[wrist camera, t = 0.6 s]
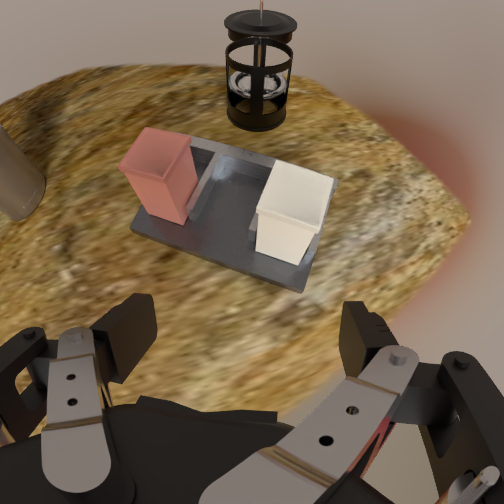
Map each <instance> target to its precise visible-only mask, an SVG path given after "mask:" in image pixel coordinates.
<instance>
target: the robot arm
mask: <svg viewBox="0 0 504 504" xmlns="http://www.w3.org/2000/svg"><path fill="white" fill-rule="evenodd" d="M44 191H45V178H44V177H43V175H42V174H41V173H40V172H39V171H38V169H37V168H36V167H35V166H34V165H33V164H32V162H31V161H30V160H29V159H28V158H27V156H26V155H25V154H24V153H23V152H22V150H21V149H20V148H19V147H18V146H17V144H16V143H15V142H14V141H13V139H12V138H11V137H10V136H9V134H8V133H7V132H6V131H5V129H4V128H3V127H2V125H1V124H0V210H1V211H2V212H3V213H5V214H6V215H7V216H8V217H10V218H11V219H12V220H16V221H18V220H22V219H24V218H26V217H27V216H29V215H30V214H31V213H32V212H33V211H34V210H35V208H36V207H37V206H38V204H39V203H40V201H41V199H42V197H43V194H44ZM156 337H157V322H156V316H155V309H154V302H153V298H152V296H151V295H150V294H140V293H134V294H132V295H131V296H130V297H129V298H127V299H126V300H125V301H124V302H123V303H121V304H119V305H117V306H115V307H113V308H112V309H111V310H110V311H108V313H106V314H105V315H104V316H103V317H101V318H100V319H99V320H98V321H96V322H95V323H94V324H93V325H92V326H90V327H89V328H86V327H75V328H71V329H68V330H66V331H65V332H63V333H62V334H61V335H60V336H59V340H47V338H46V335H45V331H44V329H43V328H40V327H30V328H26V329H24V330H22V331H20V332H19V333H17V334H16V335H15V336H14V337H12V338H11V339H10V340H8V341H7V342H6V343H4V344H3V345H2V346H1V347H0V504H394V503H393V502H392V501H390V500H389V499H388V498H386V497H385V496H384V495H382V494H381V493H380V492H378V491H377V490H376V489H374V488H373V487H372V486H371V485H369V484H368V483H367V482H365V481H364V480H363V479H362V478H363V477H364V475H365V474H366V472H367V470H368V469H369V467H370V465H371V464H372V462H373V460H374V459H375V457H376V456H377V454H378V453H379V451H380V449H381V448H382V447H383V445H384V443H385V442H386V440H387V438H388V437H389V435H390V434H391V432H392V430H393V429H394V427H395V425H396V423H397V422H398V423H406V424H416V425H418V427H419V430H420V433H421V436H422V439H423V442H424V445H425V448H426V451H427V455H428V458H429V462H430V465H431V468H432V472H433V475H434V479H435V483H436V487H437V490H438V494H439V499H438V500H437V501H436V502H435V503H434V504H504V397H503V395H502V394H501V392H500V391H499V390H498V388H497V387H496V385H495V384H494V383H493V381H492V380H491V378H490V377H489V376H488V374H487V373H486V371H485V370H484V369H483V367H482V366H481V365H480V363H479V362H478V361H477V360H476V359H475V358H474V357H473V356H472V355H470V354H467V353H464V352H459V351H453V352H449V353H447V354H445V355H444V357H443V359H442V362H441V365H440V364H428V363H421V362H419V356H418V354H417V353H416V352H415V351H413V350H412V349H410V348H407V347H404V346H400V345H399V344H398V342H397V341H396V339H395V337H394V335H393V334H392V332H390V329H389V327H388V326H387V324H386V322H385V321H384V319H383V318H382V317H381V316H379V315H378V314H376V313H375V312H372V313H369V312H368V310H367V308H366V306H365V305H364V303H363V301H344V303H343V309H342V317H341V325H340V333H339V351H340V355H341V358H342V362H343V366H344V370H345V374H346V378H345V379H344V380H343V381H342V382H341V383H340V384H339V385H338V386H337V387H336V388H335V389H334V390H333V392H332V393H331V394H330V395H329V396H328V397H327V398H326V399H325V400H324V401H323V402H322V403H321V404H320V405H319V406H318V407H317V408H315V410H313V411H312V412H311V413H310V414H309V415H308V416H307V417H306V418H305V419H304V420H303V421H302V422H301V423H300V424H299V425H297V426H296V427H294V426H291V425H288V424H285V423H281V422H277V413H278V412H274V411H253V410H232V411H219V412H200V411H197V410H194V409H191V408H188V407H186V406H183V405H180V404H178V403H175V402H172V401H168V400H162V399H157V398H152V397H147V396H142V395H141V396H140V397H139V399H138V400H137V402H136V404H123V405H117V406H114V404H113V400H112V396H111V392H110V388H109V386H108V383H109V382H110V381H111V382H115V383H119V384H123V382H124V381H125V380H126V378H127V377H128V376H129V374H130V373H131V372H132V370H133V369H134V368H135V366H136V365H137V364H138V362H139V361H140V360H141V358H142V357H143V356H144V354H145V353H146V352H147V350H148V349H149V348H150V346H151V345H152V344H153V342H154V341H155V339H156ZM25 367H27V370H28V372H29V374H30V377H31V379H32V381H33V382H32V383H31V384H30V385H29V386H28V387H27V388H26V389H25V390H24V391H23V392H22V393H21V394H20V395H19V393H18V391H17V389H16V386H15V379H16V376H17V375H18V374H19V373H20V372H21V371H22V370H23V369H24V368H25ZM46 414H47V425H46V426H45V427H43V428H42V431H41V433H40V434H37V435H35V436H32V437H29V436H30V435H31V433H32V432H33V431H34V430H35V428H36V427H37V426H38V424H39V423H40V422H41V421H42V419H43V418H44V417H45V416H46ZM457 415H458V416H459V418H458V416H457ZM459 419H460V420H459ZM28 437H29V438H28Z"/></svg>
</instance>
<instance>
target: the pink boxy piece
mask: <svg viewBox="0 0 504 504" xmlns="http://www.w3.org/2000/svg"><path fill="white" fill-rule="evenodd" d="M191 142H192V140H191V136H187V135H183V134H178V133H174V132H169V131H164V130H159V129H154V128H149V127H145V128H144V129H143V131H142V132H141V133H140V135H139V136H138V138H137V139H136V140H135V142H134V143H133V145H132V146H131V147H130V149H129V150H128V152H127V153H126V155H125V156H124V157H123V159H122V160H121V162H120V163H119V165H118V166H117V167H118V168H119V170H120V171H121V172H124V173H125V175H126V177H127V178H128V180H129V182H130V184H131V185H132V187H133V189H134V191H135V192H136V194H137V196H138V197H139V199H140V201H141V203H142V204H143V206H144V208H145V209H146V211H147V213H148V214H151V215H154V216H157V217H160V218H163V219H166V220H169V221H171V222H174V223H177V224H180V225H184V223H185V221H186V219H187V217H188V214H187V211H186V206H187V204H188V202H189V200H190V198H191V196H192V194H193V192H194V191H195V189H196V187H197V185H198V179H197V174H196V170H195V166H194V162H193V157H192V153H191V149H190V144H191Z"/></svg>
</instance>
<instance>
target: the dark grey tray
mask: <svg viewBox="0 0 504 504" xmlns="http://www.w3.org/2000/svg"><path fill="white" fill-rule="evenodd" d="M174 133H176V132H174ZM178 134H181V133H178ZM183 135H185V134H183ZM187 136H190V135H187ZM191 140H192V142H191V144H190V149H191V153H192V157H193V162H194V166H195V170H196V174H197V179H198V185H197V187H196V189H195V191H194V192H193V194H192V196H191V198H190V200H189V202H188V204H187V206H186V211H187V214H188V217H187V219H186V221H185V223H184V225H180V224H177V223H174V222H171V221H169V220H166V219H163V218H160V217H157V216H154V215H151V214H148V213H147V211H146V209H145V208H144V206H143V204H142V206H141V207H140V209H139V211H138V213H137V215H136V217H135V218H134V220H133V222H132V224H131V226H130V229H131V230H132V232H133V233H135V234H138V235H141V236H143V237H146V238H148V239H151V240H154V241H156V242H159V243H162V244H164V245H167V246H170V247H172V248H175V249H178V250H180V251H183V252H186V253H188V254H191V255H194V256H196V257H199V258H202V259H205V260H207V261H210V262H213V263H216V264H218V265H221V266H224V267H227V268H229V269H232V270H235V271H238V272H240V273H243V274H246V275H249V276H252V277H254V278H257V279H260V280H263V281H266V282H269V283H271V284H274V285H277V286H280V287H283V288H286V289H289V290H292V291H294V292H297V293H300V294H301V293H302V292H303V291H304V288H305V285H306V282H307V278H308V275H309V272H310V269H311V266H312V262H313V259H314V256H315V253H316V250H317V246H318V243H319V239H320V236H321V232H322V229H323V225H324V222H325V218H326V215H327V211H328V207H329V204H330V200H331V198H332V196H333V194H334V192H335V190H336V187H337V183H338V179H336V178H333V177H330V176H328V175H325V174H322V173H319V172H316V171H313V170H310V169H307V168H304V167H301V166H298V165H295V164H292V163H289V162H286V161H283V160H279V159H276V158H273V157H269V156H266V155H263V154H259V153H256V152H252V151H249V150H245V149H242V148H238V147H234V146H230V145H227V144H223V143H219V142H215V141H211V140H207V139H203V138H198V137H194V136H191ZM276 160H279V161H283V162H286V163H289V164H292V165H295V166H298V167H301V168H304V169H307V170H310V171H313V172H316V173H319V174H322V175H325V176H328V177H330V178H333V179H334V180H333V184H332V188H331V191H330V195H329V199H328V203H327V206H326V210H325V213H324V217H323V220H322V224H321V228H320V230H319V232H318V234H316V233H315V234H314V236H313V238H312V240H311V242H310V244H309V246H308V247H307V249H306V251H305V253H304V255H303V257H302V259H301V261H300V263H299V265H298V266H297V265H295V264H292V263H289V262H286V261H283V260H280V259H277V258H274V257H272V256H269V255H266V254H263V253H260V252H257V251H256V239H257V228H258V216H259V214H258V213H256V207H257V205H258V202H259V200H260V198H261V195H262V193H263V190H264V188H265V186H266V183H267V181H268V178H269V176H270V174H271V171H272V169H273V166H274V164H275V162H276Z"/></svg>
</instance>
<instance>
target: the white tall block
mask: <svg viewBox="0 0 504 504" xmlns="http://www.w3.org/2000/svg"><path fill="white" fill-rule="evenodd" d="M333 180H334V179H333V178H330V177H328V176H325V175H322V174H319V173H316V172H313V171H310V170H307V169H304V168H301V167H298V166H295V165H292V164H289V163H286V162H283V161H279V160H276V162H275V164H274V166H273V169H272V171H271V174H270V176H269V178H268V181H267V183H266V186H265V188H264V190H263V193H262V195H261V198H260V200H259V202H258V205H257V207H256V213H258V214H259V216H258V228H257V239H256V251H257V252H260V253H263V254H266V255H269V256H272V257H274V258H277V259H280V260H283V261H286V262H289V263H292V264H295V265H297V266H298V265H299V263H300V261H301V259H302V257H303V255H304V253H305V251H306V249H307V247H308V246H309V244H310V242H311V240H312V238H313V236H314V234H315V233H316V234H318V232H319V230H320V228H321V224H322V220H323V217H324V213H325V210H326V206H327V203H328V199H329V195H330V191H331V188H332V184H333Z"/></svg>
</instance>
